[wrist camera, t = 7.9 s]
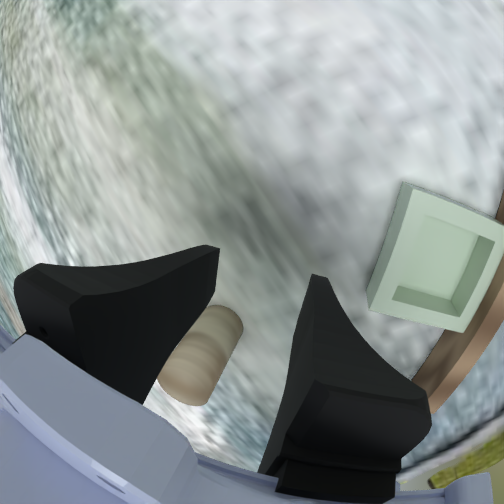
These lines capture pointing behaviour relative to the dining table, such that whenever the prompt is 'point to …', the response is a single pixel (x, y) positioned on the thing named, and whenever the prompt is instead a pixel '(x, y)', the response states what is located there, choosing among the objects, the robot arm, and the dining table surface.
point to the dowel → (201, 356)
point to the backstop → (463, 342)
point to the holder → (435, 260)
